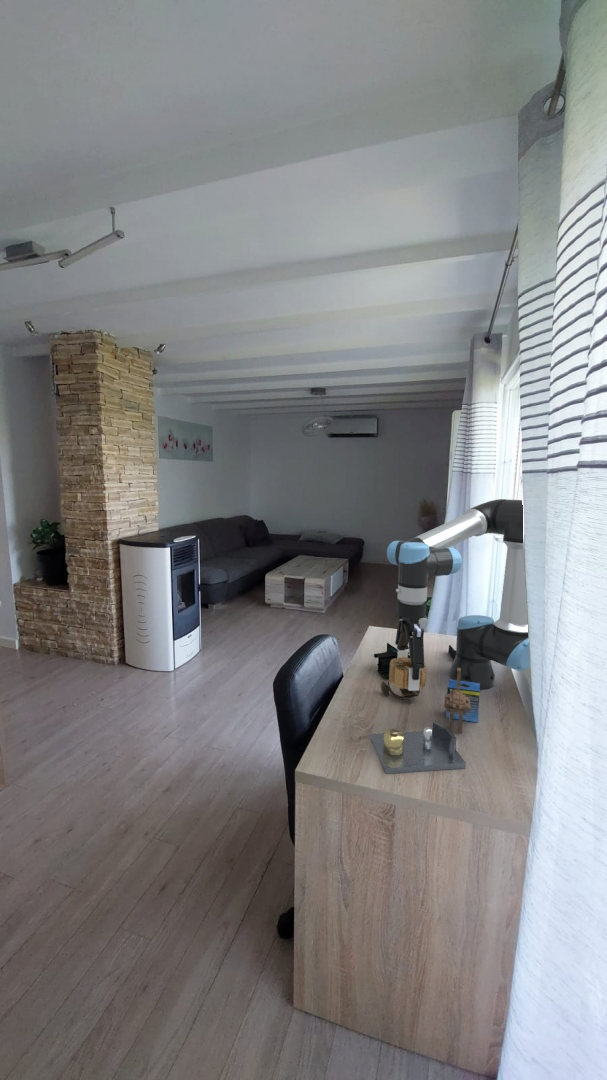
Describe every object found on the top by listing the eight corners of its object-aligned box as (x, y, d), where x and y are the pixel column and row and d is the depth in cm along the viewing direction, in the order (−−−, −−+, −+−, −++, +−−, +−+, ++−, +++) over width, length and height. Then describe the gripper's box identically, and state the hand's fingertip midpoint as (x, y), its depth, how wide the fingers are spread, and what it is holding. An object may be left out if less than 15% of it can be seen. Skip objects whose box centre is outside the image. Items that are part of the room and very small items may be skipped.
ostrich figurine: (443, 723, 125) (446, 664, 123) (467, 727, 123) (471, 668, 120) (441, 758, 109) (445, 692, 107) (469, 764, 107) (474, 696, 105)
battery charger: (480, 655, 175) (480, 645, 174) (489, 665, 165) (489, 655, 165) (448, 654, 175) (448, 644, 174) (455, 664, 166) (455, 654, 165)
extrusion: (418, 679, 152) (419, 653, 150) (387, 685, 147) (388, 657, 146) (398, 665, 163) (399, 640, 162) (370, 670, 159) (370, 644, 158)
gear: (418, 673, 121) (419, 656, 120) (430, 689, 112) (431, 671, 111) (385, 674, 120) (386, 657, 120) (395, 690, 111) (396, 672, 110)
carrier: (440, 734, 119) (442, 712, 118) (465, 768, 105) (467, 743, 104) (370, 738, 116) (371, 716, 115) (386, 773, 102) (387, 748, 102)
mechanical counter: (421, 709, 132) (423, 678, 130) (379, 704, 134) (380, 674, 133) (420, 697, 139) (421, 668, 137) (380, 693, 141) (381, 664, 140)
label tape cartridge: (476, 716, 128) (479, 677, 127) (478, 723, 125) (480, 683, 123) (445, 711, 131) (447, 673, 129) (445, 718, 127) (448, 679, 125)
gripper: (386, 590, 124) (383, 663, 127) (411, 613, 102) (406, 701, 105) (411, 590, 124) (407, 663, 127) (441, 613, 102) (436, 701, 105)
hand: (407, 680), depth 116 cm, fingers closed on gear, 9 cm apart
